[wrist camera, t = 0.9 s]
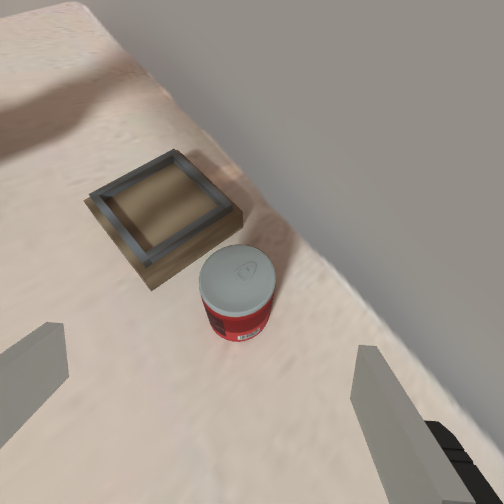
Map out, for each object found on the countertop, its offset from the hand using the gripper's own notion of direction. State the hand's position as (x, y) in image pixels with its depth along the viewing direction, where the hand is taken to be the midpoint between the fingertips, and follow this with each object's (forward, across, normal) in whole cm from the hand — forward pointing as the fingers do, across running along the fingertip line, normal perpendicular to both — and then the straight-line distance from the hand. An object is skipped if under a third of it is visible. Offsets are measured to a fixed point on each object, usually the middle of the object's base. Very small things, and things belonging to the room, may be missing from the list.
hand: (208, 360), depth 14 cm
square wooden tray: (+34, -12, 0) cm, 36 cm away
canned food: (+25, 0, -10) cm, 27 cm away
